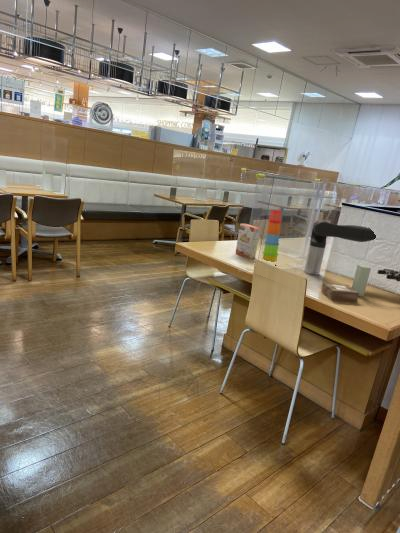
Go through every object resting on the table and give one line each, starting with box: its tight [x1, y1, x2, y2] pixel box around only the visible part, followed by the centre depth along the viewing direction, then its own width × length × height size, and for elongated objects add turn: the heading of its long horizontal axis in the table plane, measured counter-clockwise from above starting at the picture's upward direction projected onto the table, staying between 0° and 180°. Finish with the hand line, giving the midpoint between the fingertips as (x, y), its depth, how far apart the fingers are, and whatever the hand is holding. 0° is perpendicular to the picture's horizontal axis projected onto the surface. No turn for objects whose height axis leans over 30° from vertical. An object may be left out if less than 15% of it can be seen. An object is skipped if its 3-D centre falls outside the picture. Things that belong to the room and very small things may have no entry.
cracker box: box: [235, 223, 261, 260], centre depth 259 cm, size 14×6×21 cm, turn 37°
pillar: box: [351, 264, 372, 297], centre depth 207 cm, size 5×5×16 cm
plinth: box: [321, 282, 360, 303], centre depth 200 cm, size 12×14×5 cm
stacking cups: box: [262, 209, 282, 262], centre depth 243 cm, size 10×10×35 cm
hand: (382, 274), depth 208 cm, fingers open, 8 cm apart
